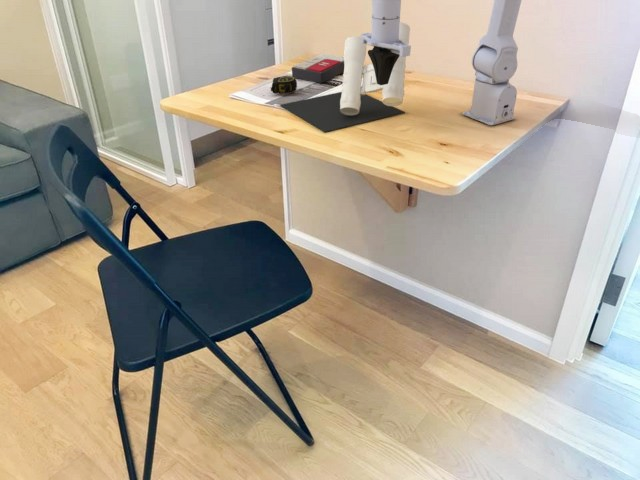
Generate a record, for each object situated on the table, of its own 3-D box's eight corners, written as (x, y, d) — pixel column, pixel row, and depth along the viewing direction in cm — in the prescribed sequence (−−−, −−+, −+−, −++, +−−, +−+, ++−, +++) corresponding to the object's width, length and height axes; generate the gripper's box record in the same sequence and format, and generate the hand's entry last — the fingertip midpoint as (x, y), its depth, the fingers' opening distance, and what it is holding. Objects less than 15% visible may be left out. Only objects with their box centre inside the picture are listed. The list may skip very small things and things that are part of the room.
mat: (404, 113, 129) (405, 111, 129) (325, 132, 119) (324, 131, 119) (354, 90, 145) (354, 89, 144) (280, 105, 135) (280, 104, 135)
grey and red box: (290, 65, 154) (320, 51, 163) (291, 79, 156) (321, 65, 166) (321, 70, 148) (350, 56, 158) (321, 85, 151) (350, 70, 160)
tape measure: (273, 88, 147) (272, 75, 145) (297, 88, 147) (297, 74, 145) (271, 96, 142) (270, 82, 139) (296, 96, 141) (295, 82, 139)
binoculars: (409, 104, 118) (414, 31, 121) (397, 94, 114) (402, 19, 117) (346, 117, 129) (352, 50, 132) (333, 109, 124) (340, 39, 128)
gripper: (349, 13, 110) (348, 78, 118) (392, 25, 100) (388, 95, 107) (376, 10, 113) (374, 73, 121) (420, 20, 103) (415, 89, 110)
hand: (382, 83), depth 114 cm, fingers closed
